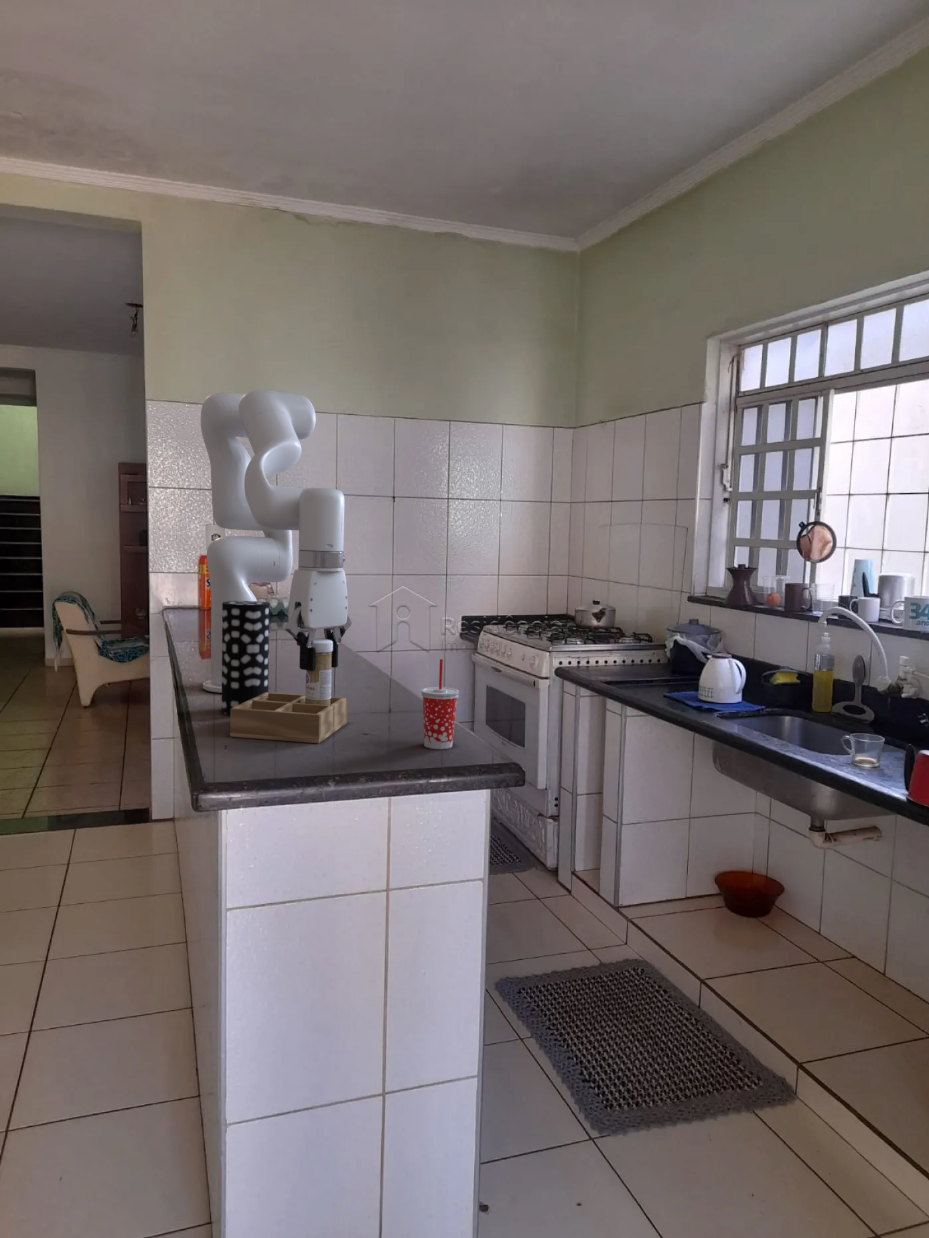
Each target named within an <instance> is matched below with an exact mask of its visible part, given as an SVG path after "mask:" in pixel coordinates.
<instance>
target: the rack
mask: <svg viewBox="0 0 929 1238" xmlns="http://www.w3.org/2000/svg"><path fill="white" fill-rule="evenodd" d="M229 717H230V718H229V719H230V721H229V726H230V727H229V728H230V729H229V730H230V731H229V732H230V734H229V736H230V737H231V738H243V739H244V738H247V739H260V740H268V741H269V740H271V741H281V742H282V741H284V742H297V743H307V744H308V743H311V744H320V743H321V742H323V741H324V740H326V739H327V738H328V737H330V736H331V735H333V734H334V733H335V732H336V731H338V730H339V729H341V728H342V727H343V726H345V725H347V723H348V722H347V721H348V697H343V696H342V697H341V696H331V699H330V705H320V704H306V698H305V694H301V693H300V694H299V693H286V692H271V691H270V692H269V691H268V692H266V693H264V694H261V695H259V696H257V697H255V698H253V699H251V700H248V701H246V702H244V703H242V704H240V705H237V706H235V707H233V708H231V710H230V715H229Z"/></svg>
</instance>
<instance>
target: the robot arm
mask: <svg viewBox="0 0 929 1238" xmlns="http://www.w3.org/2000/svg"><path fill="white" fill-rule="evenodd" d="M316 423H317V415H316V410H315V407H314V405H313V403H312V402H311V400H310V399H309V398H308V397H307V396H305V395H303V394H300V393H295V392H288V391H287V392H285V391H279V390H271V389H254V390H251V391H248V392H247V393H237V392H216V393H211V394H210V395H208V396H206V398H205V399H204V401H203V403H202V405H201V410H200V430H201V436H202V439H203V442H204V446H205V448H206V452H207V455H208V459H209V466H210V489H211V491H210V492H211V507H212V510H211V511H212V517H213V520H214V523H215V524H216V525H217V526H218V527H220V528H222V529H227V530H232V531H233V530H236V531H256V532H257V531H262V532H263V534H264V536H252V535H251V536H248V535H227V536H221V537H218V538H215V539H213V540H212V541H211V542H210V544H208V547H207V549H206V565H207V570H208V578H209V586H210V679H207V680H205V681H204V682H202V688H203V690H205V691H207V692H211V693H218V694H222V602H228V601H258V599H257V597H256V596H255V594H254V593H253V592H252V590H251V588H250V587H249V586H248V584H252V583H281V582H284V581H286V580H287V579H288V578H289V577H290V576H291V573H292V571H293V564H294V550H293V549H294V548H293V547H294V546H293V531H298V553H297V554H298V557H297V560H298V563H297V566H298V567H297V569H294V571H293V574H292V578H291V585H290V591H289V599H288V600H289V601H288V615H287V616H288V618H287V619H288V620H287V621H288V622H287V624H286V625H285V628H284V629H285V631H286V632H287V633H288V634H289V635H290V636H292V638H293V640H294V641H295V642H296V646H298V647H299V665H298V666H299V669H300V670H301V671H302V670H303V671H307V670H308V671H314V670H315V657H316V649H315V647H312V646H313V642H314V639H315V638H316V632H317V630H323V635H324V639H328V640H331V641H333V651H332V655H331V657H332V658H331V668H332V669H333V668H335V669H336V668H338V667H339V645H340V644H341V643H342V639H343V637H344V635H345V634H346V632H347V631H348V630H349V628H350V627H351V626H352V621H351V619H350V617H349V613H348V611H349V608H348V607H349V601H348V600H349V599H348V585H347V577H346V571H345V570H344V563H345V561H346V556H345V555H344V554H345V553H344V547H345V546H344V545H345V506H346V505H345V504H346V502H345V495H344V493H343V492H342V490H339V489H337V488H330V487H301V486H288V485H287V486H286V485H272V484H270V483H269V481H268V478H271V477H274V476H276V475H278V474H281V473H284V472H286V471H289V470H290V469H291V468H293V467H294V466H295V465H296V464H297V463H298V461H299V460H300V458H301V457H302V453H303V452H302V451H303V450H302V445H301V442H300V441H301V440H304V439H307V438H309V437H310V436H312V434H313V432H314V430H315V428H316ZM237 438H246V439H248V441H249V444H250V446H251V449H252V451H253V454H254V455H253V456H252V457H251V455H250V454H249V452H248V451H247V449H246V447H245V446H244V445H243V444H242V442H240V440H238V439H237ZM306 634H307V635H306Z"/></svg>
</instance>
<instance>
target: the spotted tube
mask: <svg viewBox="0 0 929 1238" xmlns="http://www.w3.org/2000/svg"><path fill="white" fill-rule="evenodd" d="M269 665H270V602H267V601H258V600H257V601H228V602H222V693H221V714H224V715H227V716H230V710H231V708H233V707H235V706H237V705H240V704H242V703H244V702H246V701H248V700H251V699H253V698H255V697H257V696H259V695H261V694H264V693H266V692H269V676H270V675H269V673H270V672H269V671H270V669H269V667H270V666H269Z"/></svg>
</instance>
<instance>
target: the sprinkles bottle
mask: <svg viewBox="0 0 929 1238" xmlns="http://www.w3.org/2000/svg"><path fill="white" fill-rule="evenodd" d="M312 647H315V649H316V657H315V670H314V671H308V670H306V672H305V693H304V695H305V698H306V704H320V705H330V699H331V697H332V674H333V673H332V672H333V671H332V669H333V668H332V667H331V658H332V657H331V655H332V651H333V641H331V640H328V639H325V638H314V642H313V646H312Z"/></svg>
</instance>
